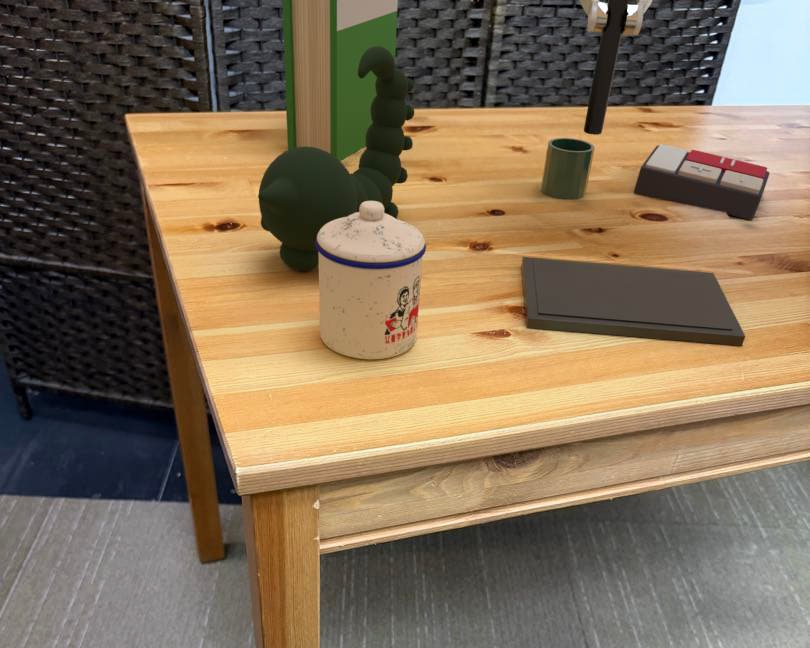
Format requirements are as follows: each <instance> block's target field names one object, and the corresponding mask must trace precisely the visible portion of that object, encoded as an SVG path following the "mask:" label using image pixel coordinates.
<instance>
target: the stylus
mask: <svg viewBox="0 0 810 648" xmlns="http://www.w3.org/2000/svg"><path fill="white" fill-rule="evenodd" d="M629 2H630V0H607V3H608V11H607V15H608V16H607V23H606V26H605V27H604V32H601V36H600V42H599V46H598V51H597V58H596V63H595V68H594V72H593V73H594V74H593V79H592V83H591V89H590V94H589V101H588V106H587V110H586V114H585V115H586V116H585V120H584V125H583V133H586V134H588V135H591V136H592V135H594V136H597V135H601V134H602V133H603V129H604V124H605V119H606V114H607V110H608V104H609V100H610V94H611V89H612V84H613V80H614V75H615V70H616V65H617V62H618V61H617V60H618V56H619V50H620V45H621V41H622V36H623V34H622V31H623V26H624V22H625V16H626V11H627V7H628V5H629Z"/></svg>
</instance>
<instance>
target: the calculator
mask: <svg viewBox="0 0 810 648" xmlns="http://www.w3.org/2000/svg"><path fill="white" fill-rule="evenodd" d="M770 173H771V172H770V171H768V167H767V166H763V165H759V164H755V163H751V162H746V161H743V160H738V159H734V158H731V157H726V156H721V155H717V154H714V153H713V154H712V153H710V152H709V153H708V152H705V151H701V150H696V149H691V150H690V152H689V151H688V149H686V148H680V147H677V146H672V145H668V144H665V143H664V144H663V143H661V144H658V145H656V146H655V147H654V149H653V150H652V152H650V154H649V156H648V157H647V158H646V160H645V161H644V162H643V163H642V165H641V166H640V169H639V173H638V176H637V179H636V182H635V186H634V190H633V194H634V195H636V196H642V197H646V198H647V197H648V198H653V199H657V200H663V201H673V202H677V203H681V204H685V205H689V206H693V207H698V208H703V209H708V210H713V211H719V212H725V213H726V215H728V216H733V217H737V218H739V219H744V220H748V221H752V220H754V218H755V216H756V213H757V210H758V208H759V205H760V203H761V201H762V197H763V194H764V191H765V189H766V187H767V183H768V180H769V177H770V175H771V174H770Z"/></svg>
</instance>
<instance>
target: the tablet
mask: <svg viewBox="0 0 810 648" xmlns="http://www.w3.org/2000/svg"><path fill="white" fill-rule="evenodd" d="M715 275H716V274H715V273H714V272H710V271H709V272H707V271H696V270H695V271H694V270H684V269H672V268H660V267H647V266H639V265H638V266H637V265H624V264H612V263H603V262H602V263H601V262H600V263H599V262H589V261H588V262H587V261H577V260H576V261H575V260H566V259H565V260H564V259H552V258H539V257H530V256H529V257H528V256H522V259H521V277H522V291H523V302H524V314H525V316H524V317H525V326H526V328H528V329H529V328H530V329H538V330H551V331H561V332H562V331H563V332H574V333H586V334H597V335H607V336H608V335H609V336H620V337H622V336H623V337H633V338H643V339H644V338H645V339H657V340H668V341H680V342H691V343H704V344H715V345H724V346H725V345H726V346H739V347H742V346H743V344H744V341H745V338H746V335H745V332H744V331H743V329H742V327H741V324H740V323H739V321H738V318H737V317H736V315H735V313H734V310H733V309H732V307H731V304H730V303H729V301H728V299H727V297H726V295H725V293H724V291H723V288H722V287H721V285H720V283H719V281H718V279H717V277H716V276H715Z"/></svg>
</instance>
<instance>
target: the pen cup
mask: <svg viewBox="0 0 810 648" xmlns="http://www.w3.org/2000/svg"><path fill="white" fill-rule="evenodd" d="M595 149H596V148H595V145H594V144H592V143H591V142H589V141H586V140H584V139H579V138H574V137H573V138H571V137H557V138H551V139H550V140H548V142H547V146H546V152H545V157H544V165H543V169H542V170H543V171H542V176H541V177H542V178H541V182H540V183H541V184H540V191H541V193H543V194H544V195H545V196H548V197H550V198H554V199H558V200H565V201H566V200H569V201H571V200H580V199H582V198H584V197H585V196H586V194H587V189H588V184H589V177H590V174H591V168H592V164H593V159H594V153H595Z"/></svg>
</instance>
